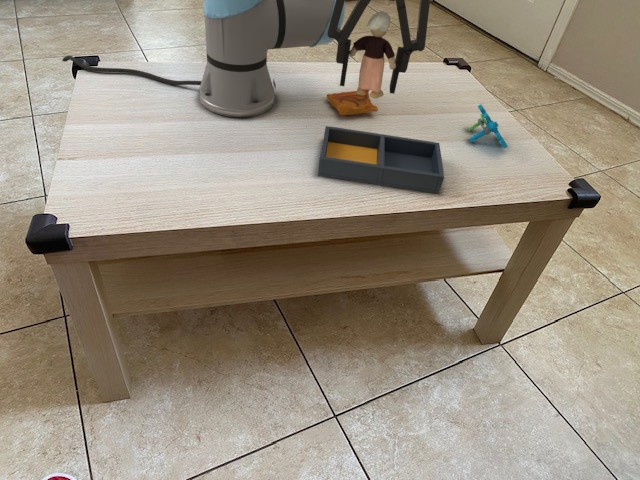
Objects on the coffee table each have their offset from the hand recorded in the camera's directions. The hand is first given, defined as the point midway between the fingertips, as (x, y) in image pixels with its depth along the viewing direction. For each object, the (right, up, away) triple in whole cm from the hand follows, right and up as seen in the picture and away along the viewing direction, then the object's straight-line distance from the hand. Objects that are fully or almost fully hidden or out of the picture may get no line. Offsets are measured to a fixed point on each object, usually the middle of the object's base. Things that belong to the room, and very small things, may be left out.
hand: (367, 85), depth 79 cm
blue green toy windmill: (+26, -5, +21) cm, 34 cm away
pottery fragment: (-1, +3, +25) cm, 25 cm away
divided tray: (+3, -12, +9) cm, 15 cm away
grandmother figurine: (0, -1, +1) cm, 1 cm away
